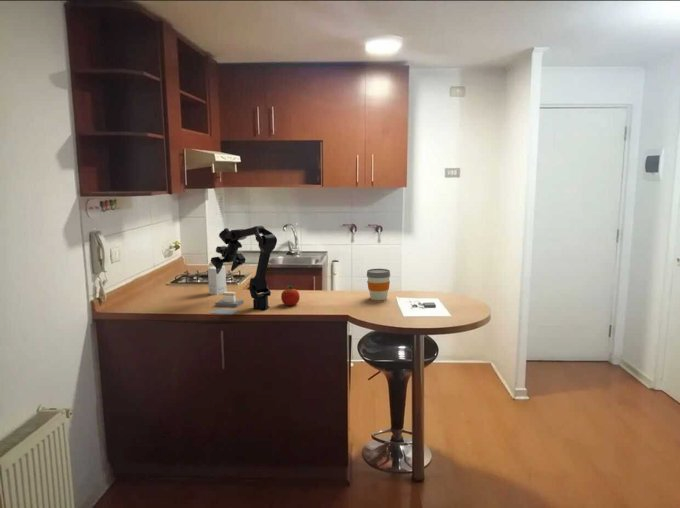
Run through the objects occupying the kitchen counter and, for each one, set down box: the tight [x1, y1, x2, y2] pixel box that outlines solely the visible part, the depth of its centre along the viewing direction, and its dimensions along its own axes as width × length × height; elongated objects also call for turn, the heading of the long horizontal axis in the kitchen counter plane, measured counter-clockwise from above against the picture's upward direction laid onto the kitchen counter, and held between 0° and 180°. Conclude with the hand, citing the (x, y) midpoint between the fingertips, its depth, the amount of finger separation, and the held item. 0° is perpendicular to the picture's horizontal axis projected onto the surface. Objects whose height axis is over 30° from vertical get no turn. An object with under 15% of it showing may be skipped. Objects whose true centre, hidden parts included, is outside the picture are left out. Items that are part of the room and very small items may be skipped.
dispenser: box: [215, 298, 245, 308], centre depth 261 cm, size 12×8×2 cm, turn 75°
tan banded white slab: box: [222, 291, 237, 302], centre depth 261 cm, size 6×2×6 cm, turn 75°
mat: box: [209, 308, 240, 316], centre depth 248 cm, size 12×8×1 cm, turn 75°
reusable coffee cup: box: [366, 268, 391, 301], centre depth 269 cm, size 13×13×15 cm
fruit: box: [280, 285, 300, 307], centre depth 259 cm, size 10×10×10 cm
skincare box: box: [207, 265, 228, 296], centre depth 287 cm, size 8×7×16 cm
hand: (224, 272), depth 272 cm, fingers open, 9 cm apart
